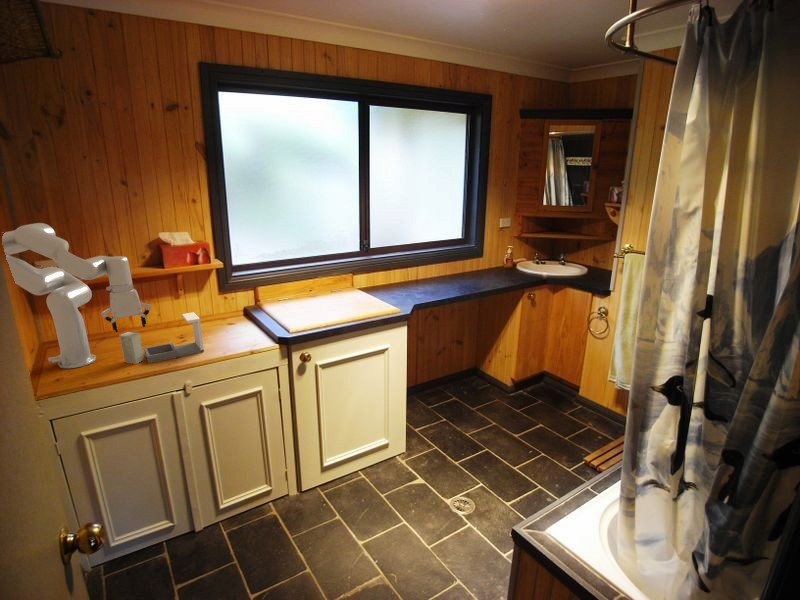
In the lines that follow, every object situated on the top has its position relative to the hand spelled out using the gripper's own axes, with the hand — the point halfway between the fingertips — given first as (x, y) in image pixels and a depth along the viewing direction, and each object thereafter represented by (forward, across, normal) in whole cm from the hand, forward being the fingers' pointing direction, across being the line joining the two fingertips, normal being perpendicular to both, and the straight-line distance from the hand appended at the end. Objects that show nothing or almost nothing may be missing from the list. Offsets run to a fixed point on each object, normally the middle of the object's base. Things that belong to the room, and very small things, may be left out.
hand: (130, 328), depth 183 cm
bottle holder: (+15, +14, 0) cm, 20 cm away
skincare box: (+14, -1, 0) cm, 15 cm away
